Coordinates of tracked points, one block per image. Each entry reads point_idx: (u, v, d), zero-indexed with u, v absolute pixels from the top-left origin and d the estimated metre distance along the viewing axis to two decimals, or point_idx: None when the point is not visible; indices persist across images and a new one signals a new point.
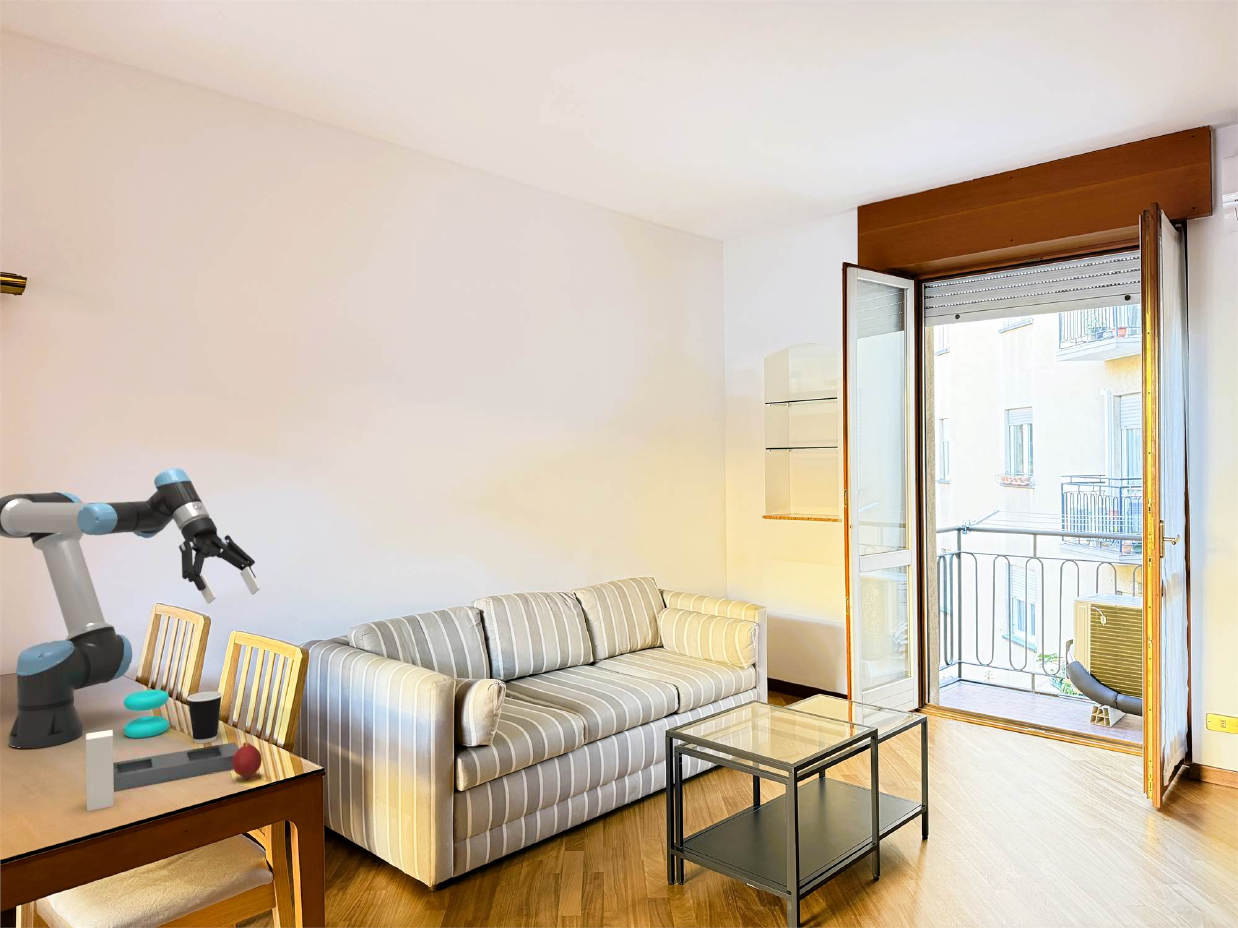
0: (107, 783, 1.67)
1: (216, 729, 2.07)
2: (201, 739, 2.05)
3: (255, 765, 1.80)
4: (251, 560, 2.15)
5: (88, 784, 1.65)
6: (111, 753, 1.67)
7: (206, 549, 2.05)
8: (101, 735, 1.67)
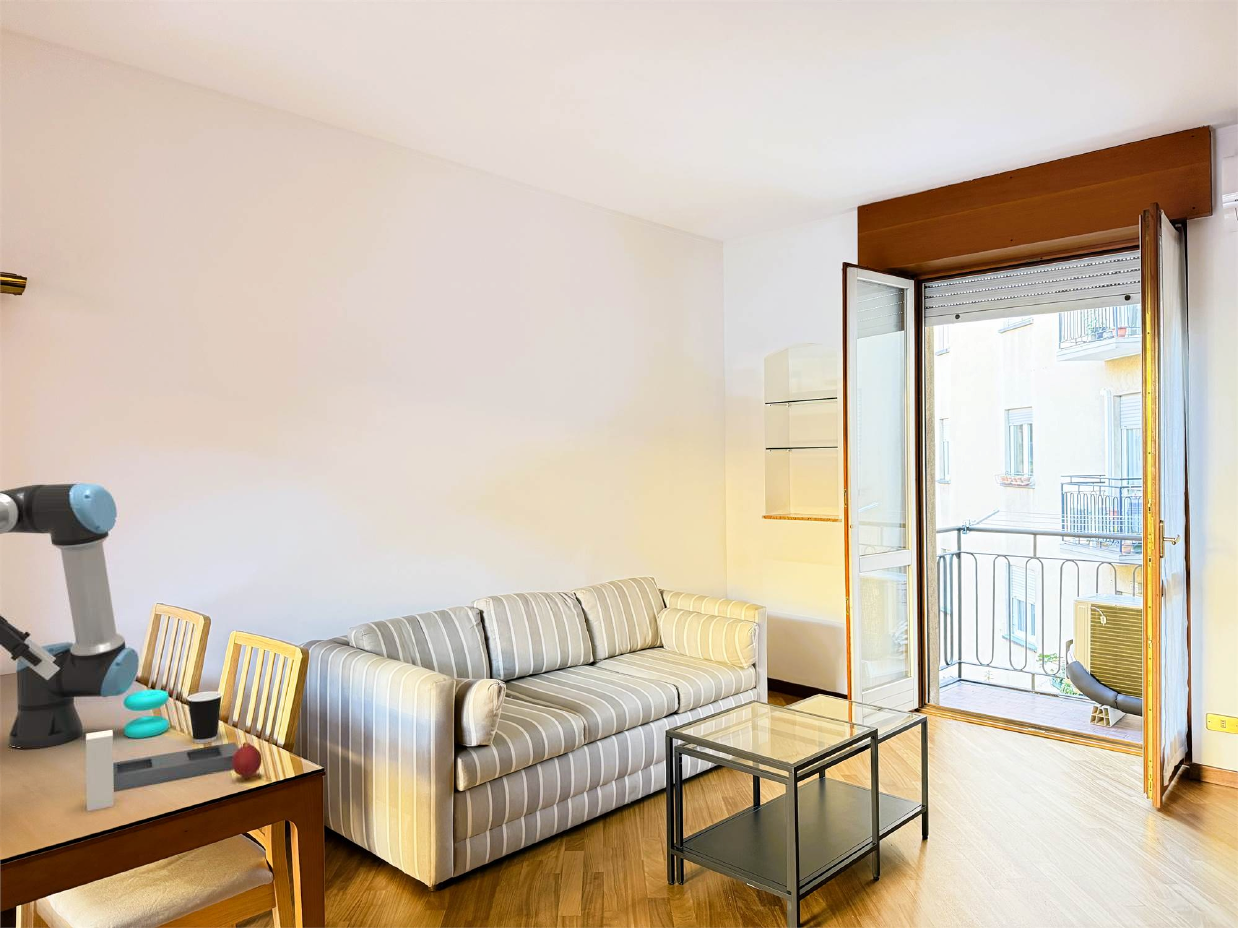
0: (107, 783, 1.67)
1: (216, 729, 2.07)
2: (201, 739, 2.05)
3: (254, 765, 1.80)
4: None
5: (88, 784, 1.65)
6: (111, 753, 1.67)
7: None
8: (101, 735, 1.67)
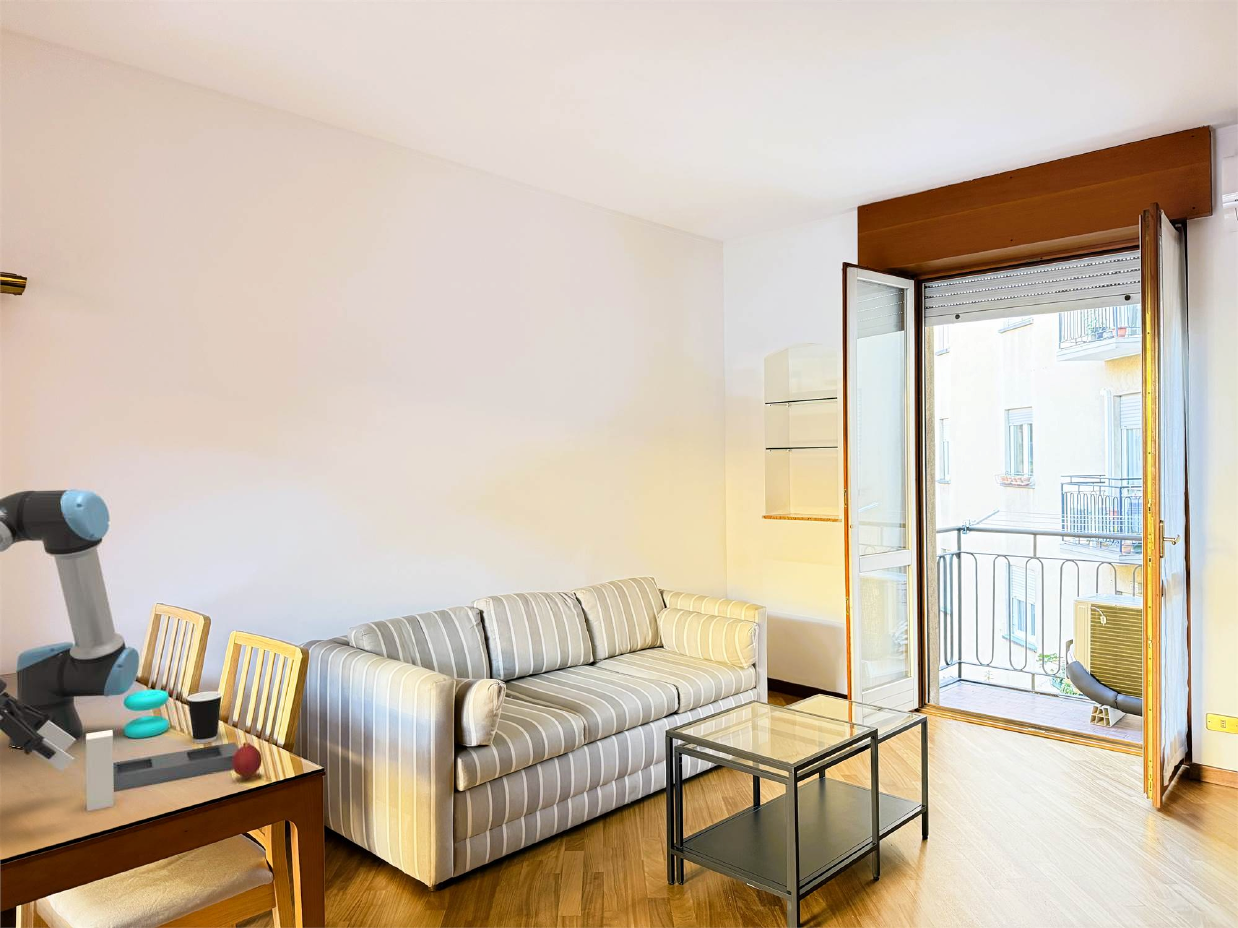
0: (107, 783, 1.67)
1: (216, 729, 2.07)
2: (201, 739, 2.05)
3: (255, 765, 1.80)
4: None
5: (88, 784, 1.65)
6: (111, 753, 1.67)
7: None
8: (101, 735, 1.67)
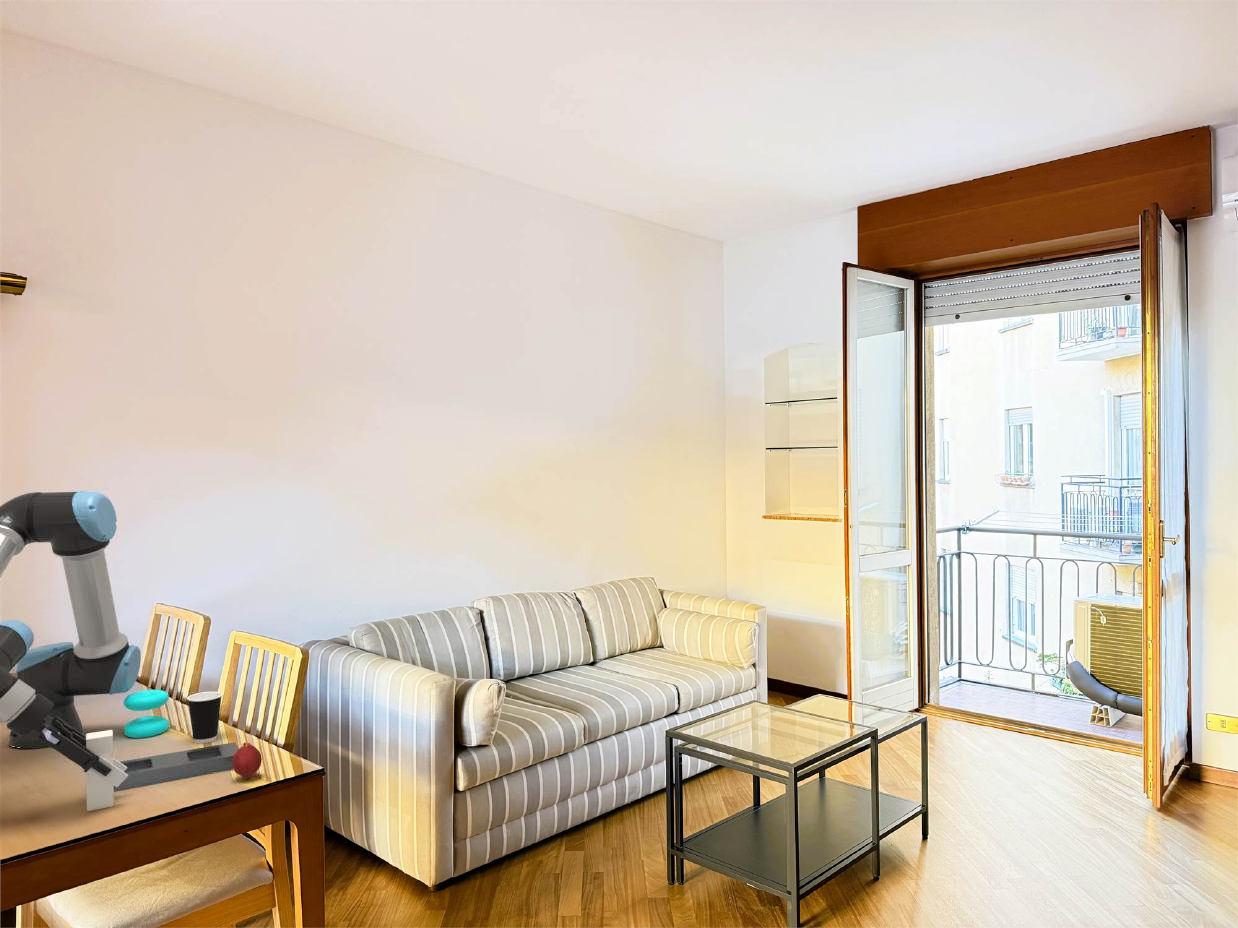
0: (107, 783, 1.67)
1: (216, 729, 2.07)
2: (201, 739, 2.05)
3: (255, 765, 1.80)
4: None
5: (88, 784, 1.65)
6: (111, 753, 1.67)
7: None
8: (101, 735, 1.67)
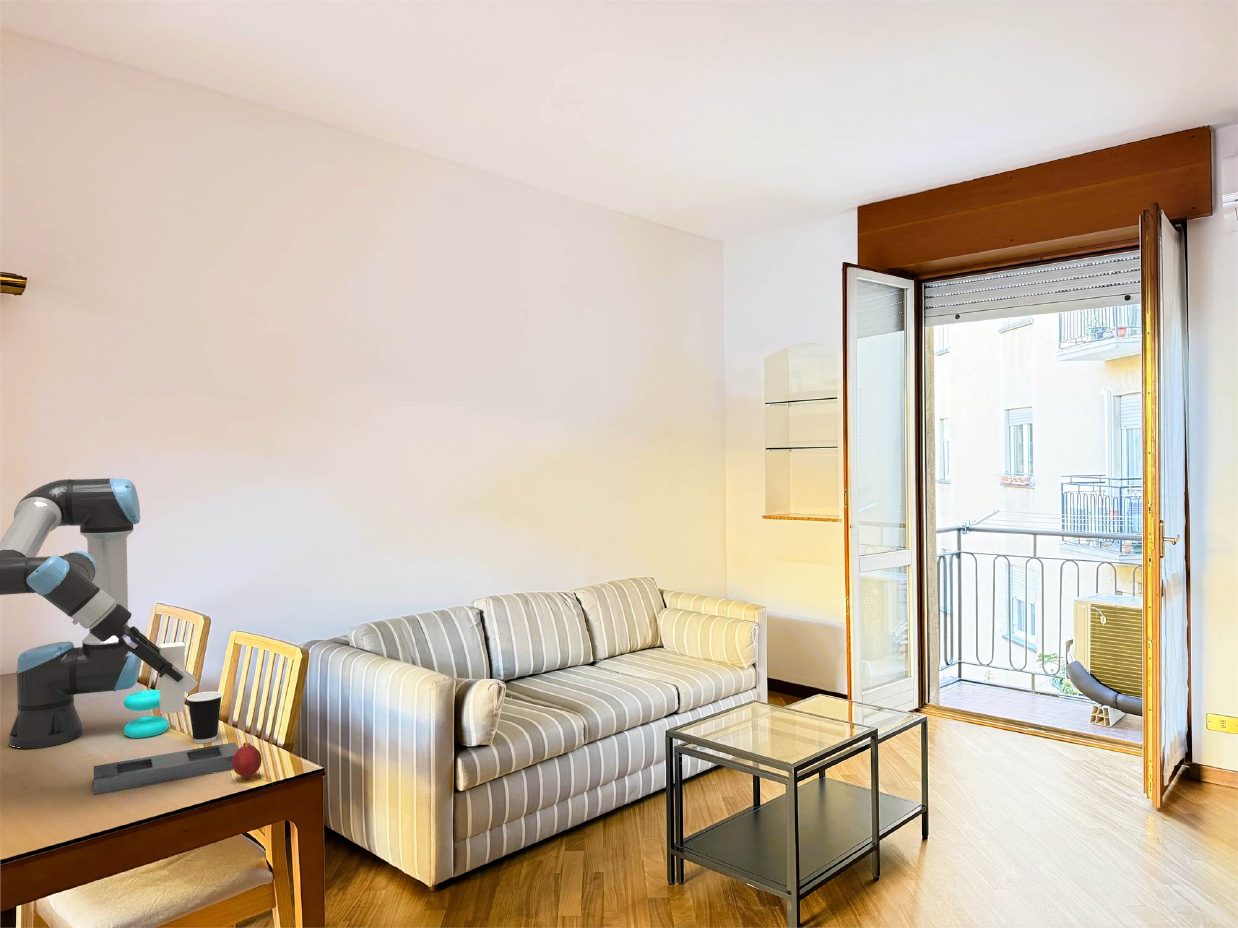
0: (179, 690, 1.79)
1: (216, 729, 2.07)
2: (201, 739, 2.05)
3: (254, 765, 1.80)
4: None
5: (162, 689, 1.78)
6: (183, 662, 1.80)
7: None
8: (174, 645, 1.80)
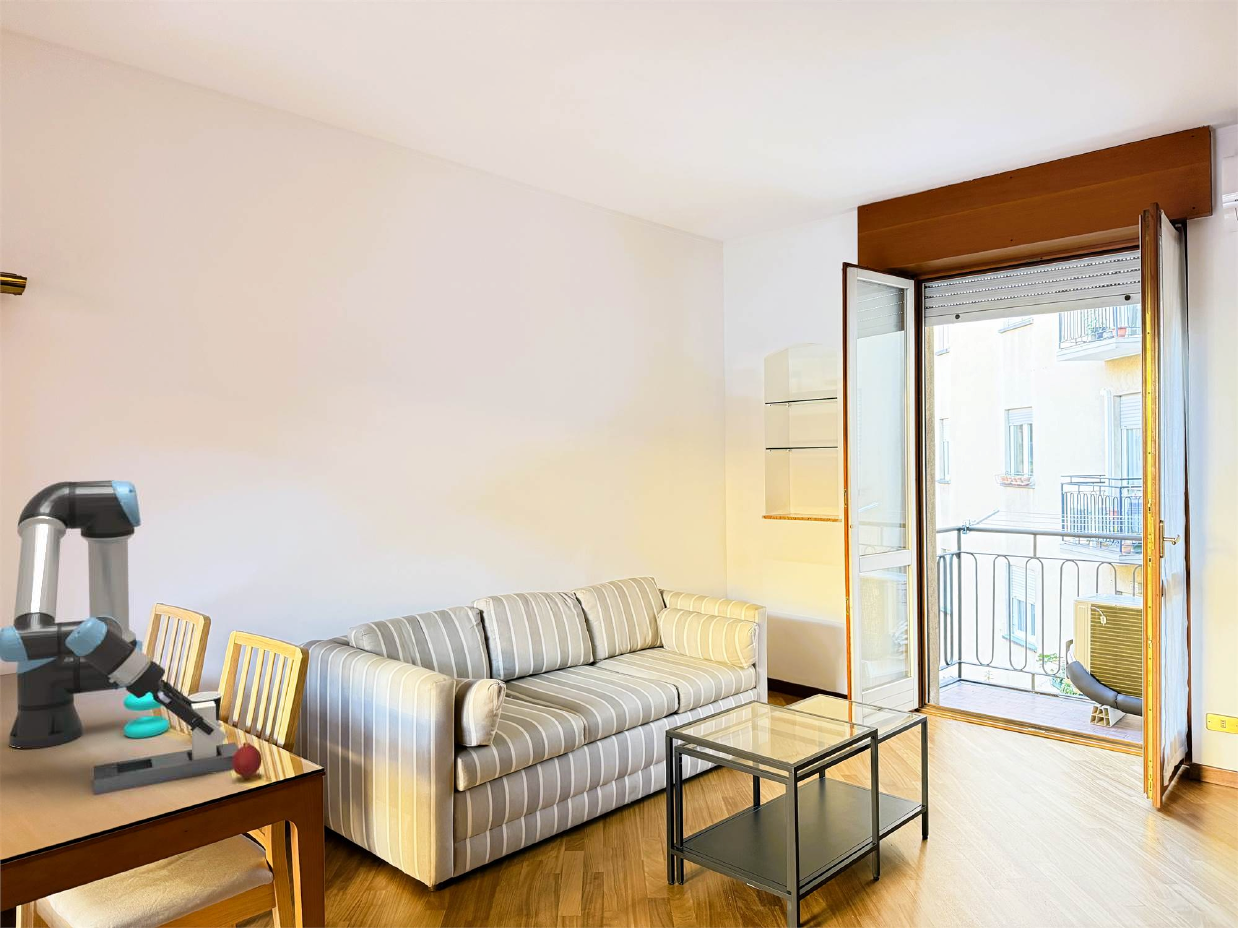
0: (211, 748, 1.87)
1: None
2: None
3: (254, 765, 1.80)
4: (190, 725, 1.81)
5: (195, 748, 1.86)
6: (214, 721, 1.88)
7: None
8: (205, 705, 1.88)
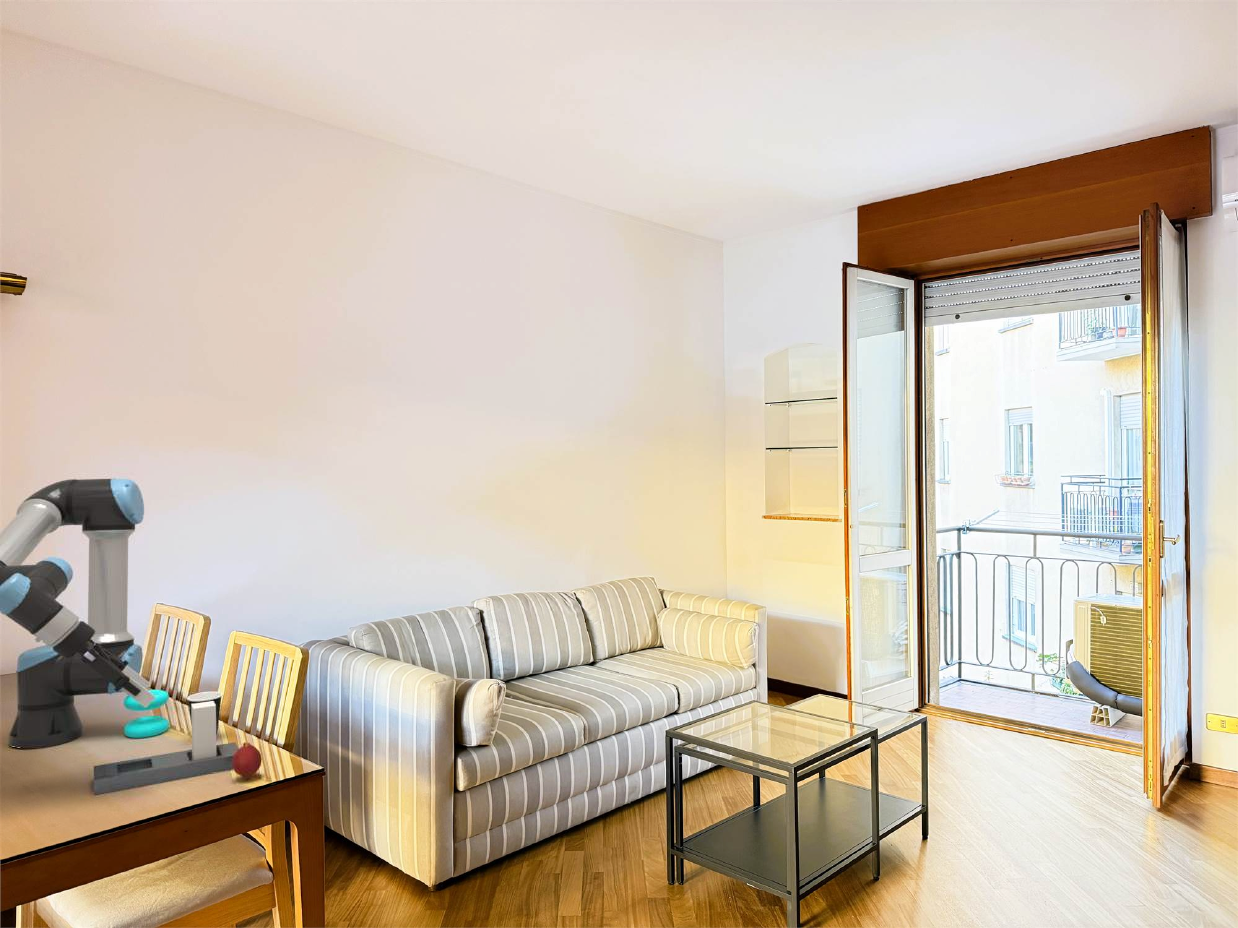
0: (211, 748, 1.87)
1: (216, 729, 2.07)
2: None
3: (255, 765, 1.80)
4: None
5: (195, 748, 1.86)
6: (214, 721, 1.88)
7: None
8: (205, 705, 1.88)
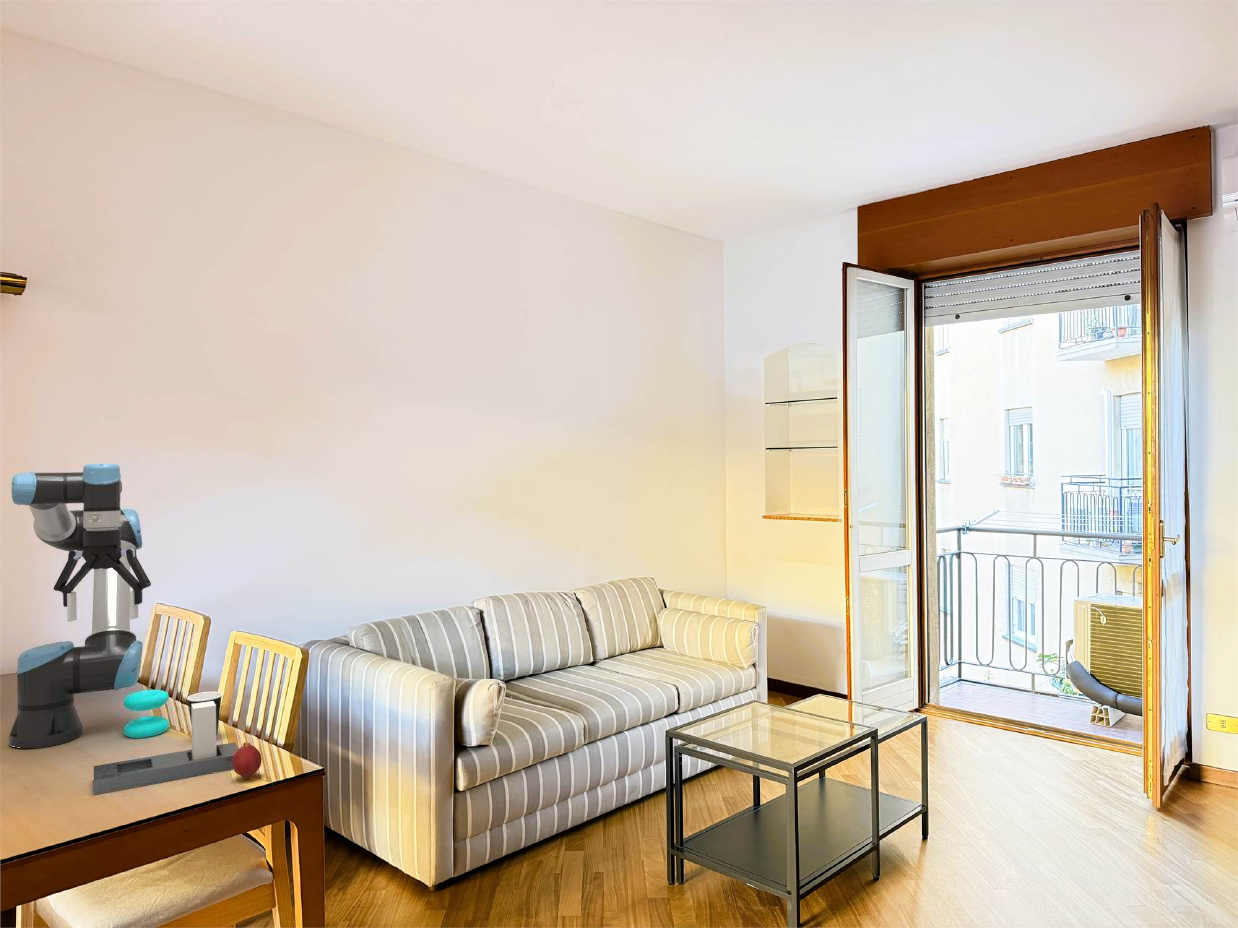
0: (211, 748, 1.87)
1: (216, 729, 2.07)
2: None
3: (255, 765, 1.80)
4: (142, 583, 1.98)
5: (195, 748, 1.86)
6: (214, 721, 1.88)
7: (87, 566, 1.96)
8: (205, 705, 1.88)
